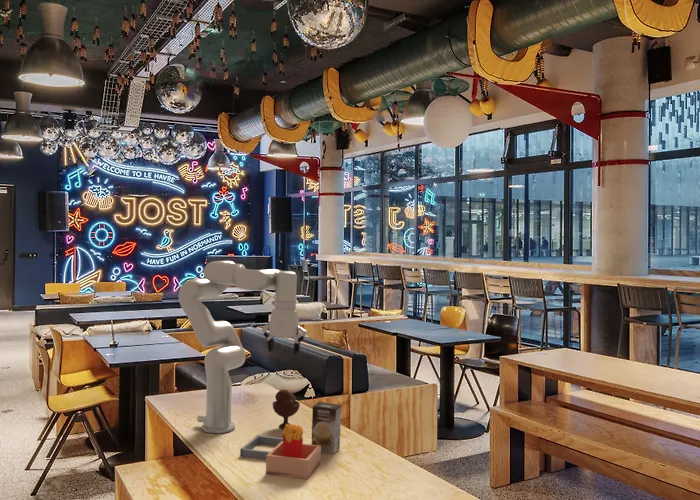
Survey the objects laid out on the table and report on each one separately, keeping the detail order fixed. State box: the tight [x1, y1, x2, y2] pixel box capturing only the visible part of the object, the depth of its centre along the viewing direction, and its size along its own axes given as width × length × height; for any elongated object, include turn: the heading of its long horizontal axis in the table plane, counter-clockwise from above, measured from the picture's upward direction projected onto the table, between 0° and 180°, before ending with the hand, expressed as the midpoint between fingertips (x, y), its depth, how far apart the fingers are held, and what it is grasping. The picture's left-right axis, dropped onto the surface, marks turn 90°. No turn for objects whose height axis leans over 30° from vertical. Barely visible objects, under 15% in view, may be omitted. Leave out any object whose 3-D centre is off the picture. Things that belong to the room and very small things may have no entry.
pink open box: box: [265, 441, 322, 480], centre depth 206 cm, size 14×14×6 cm
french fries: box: [282, 423, 304, 458], centre depth 206 cm, size 9×4×13 cm, turn 39°
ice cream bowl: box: [272, 389, 301, 430], centre depth 247 cm, size 11×11×15 cm
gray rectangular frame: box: [239, 434, 283, 460], centre depth 221 cm, size 12×15×2 cm
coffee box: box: [311, 401, 342, 455], centre depth 224 cm, size 9×6×16 cm
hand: (283, 352), depth 228 cm, fingers open, 9 cm apart
